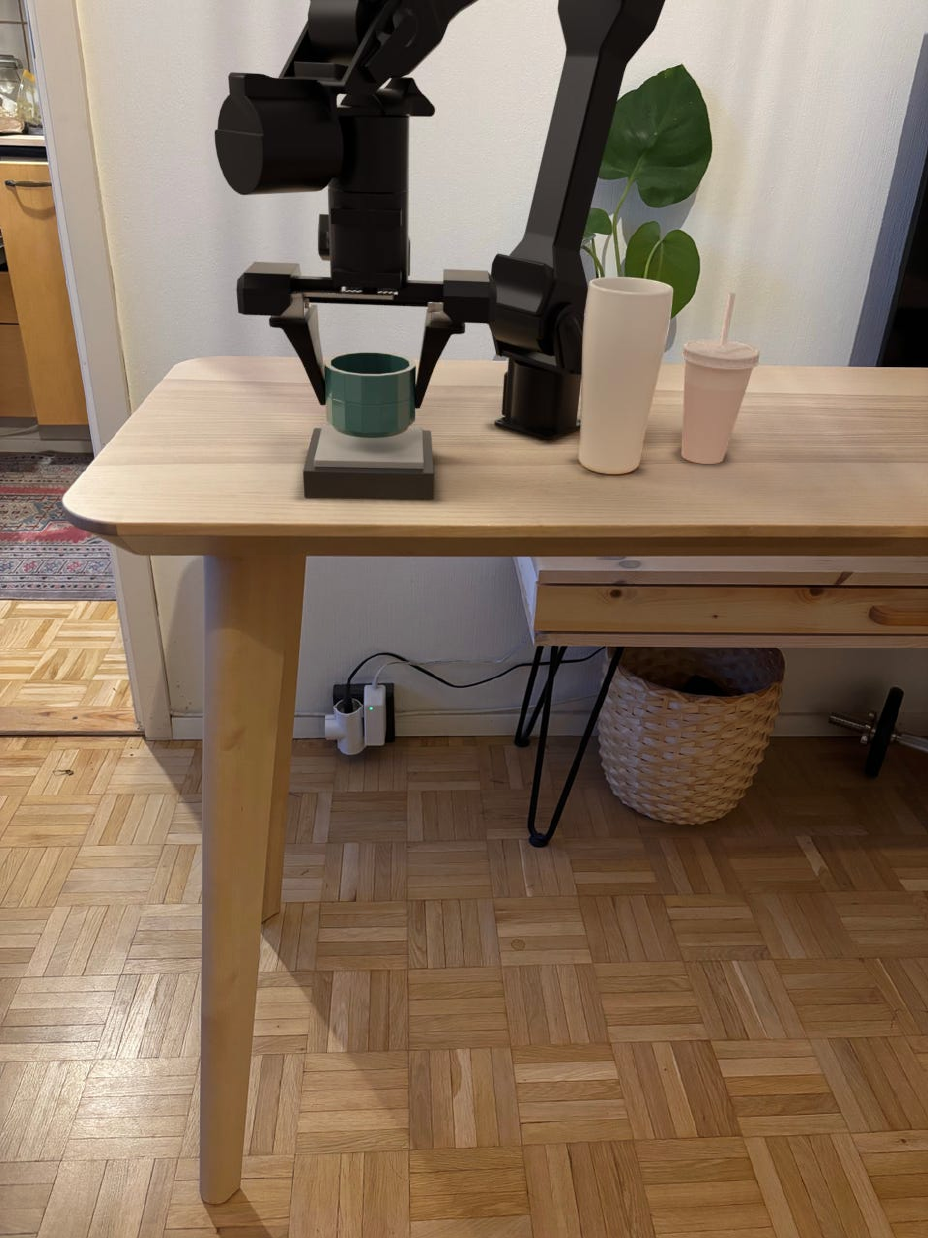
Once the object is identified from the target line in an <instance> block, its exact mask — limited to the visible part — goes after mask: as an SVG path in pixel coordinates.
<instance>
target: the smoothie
mask: <svg viewBox="0 0 928 1238" xmlns="http://www.w3.org/2000/svg"><path fill="white" fill-rule="evenodd" d="M735 298H736V293H735V292H728V294H727V301H726V306H725V312H724V318H723V322H722V328H721V334H720V339H718V338H717V339H716V338H699V339H692V340H689V341H686V342H685V343H684V345H683V349H682V353H681V358H683V360H684V377H683V379H684V381H683V403H682V404H683V405H682V406H683V407H682V430H681V431H682V433H681V453H680V454H681V457H682V458H683V459H684V460H687V461H688V462H692V463H696V464H700V465H701V464H702V465H716V464H720V463H722V462H723V461H724V460H725V459H724V458H725V455H726V452H727V449H728V447H729V443H730V440H731V437H732V435H733V431H734V428H735V424H736V422H737V418H738V415H739V412H740V409H741V406H742V403H743V401H744V397H745V395H746V393H747V389H748V386H749V383H750V379H751V376H752V373H753V370H754V368H756V367H758V365H759V358H760V354H761V353H760V350H759V349H758V348H757V347H754V346H753V345H751V344H748V343H747V344H746V343H743V342H739V341H733V340H728V337H729V332H730V326H731V321H732V315H733V311H734V305H735V300H736V299H735Z"/></svg>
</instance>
